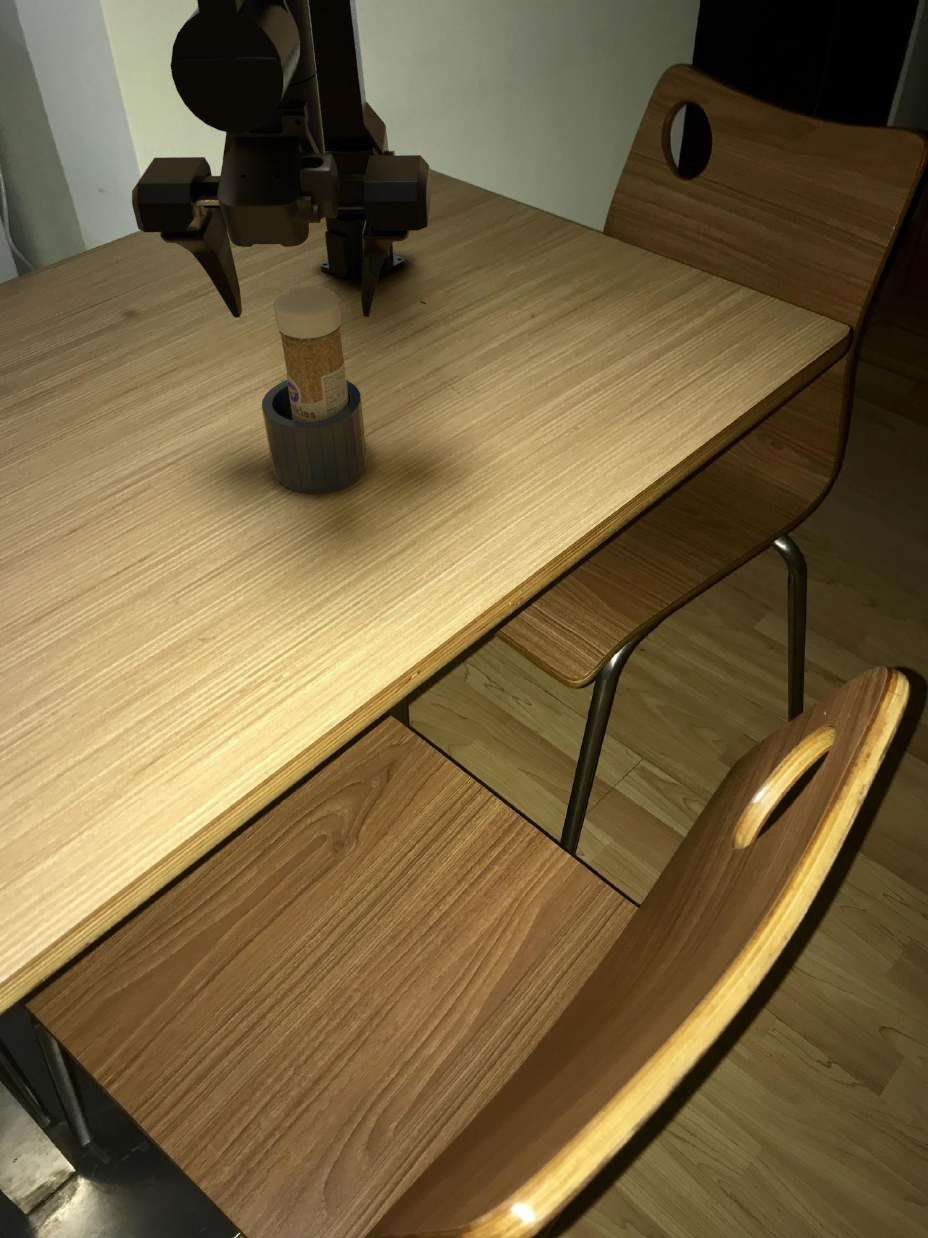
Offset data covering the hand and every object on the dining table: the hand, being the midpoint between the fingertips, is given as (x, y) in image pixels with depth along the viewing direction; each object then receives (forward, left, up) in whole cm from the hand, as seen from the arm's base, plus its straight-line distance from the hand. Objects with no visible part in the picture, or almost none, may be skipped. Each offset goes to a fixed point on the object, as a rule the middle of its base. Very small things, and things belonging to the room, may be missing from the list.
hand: (302, 314), depth 71 cm
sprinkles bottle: (0, +1, -12) cm, 12 cm away
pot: (+1, +1, -12) cm, 12 cm away
